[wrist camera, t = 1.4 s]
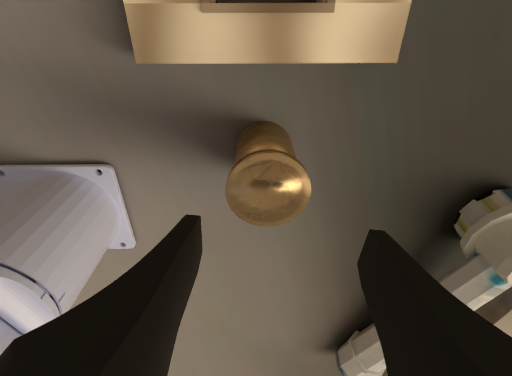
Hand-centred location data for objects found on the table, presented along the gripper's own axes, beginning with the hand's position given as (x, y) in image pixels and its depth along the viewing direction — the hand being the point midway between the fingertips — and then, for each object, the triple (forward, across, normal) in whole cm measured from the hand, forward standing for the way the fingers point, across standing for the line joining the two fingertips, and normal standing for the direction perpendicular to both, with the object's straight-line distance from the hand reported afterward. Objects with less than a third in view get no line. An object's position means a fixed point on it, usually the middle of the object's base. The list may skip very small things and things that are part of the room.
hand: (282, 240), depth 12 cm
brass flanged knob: (+10, +1, 0) cm, 10 cm away
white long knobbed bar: (+11, -15, +14) cm, 23 cm away
